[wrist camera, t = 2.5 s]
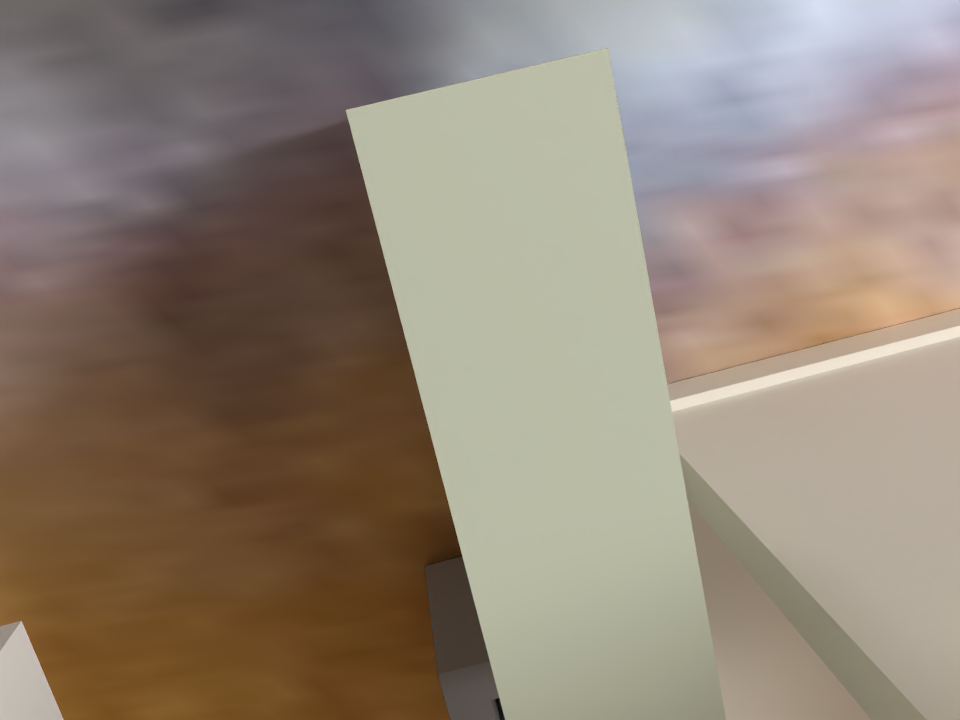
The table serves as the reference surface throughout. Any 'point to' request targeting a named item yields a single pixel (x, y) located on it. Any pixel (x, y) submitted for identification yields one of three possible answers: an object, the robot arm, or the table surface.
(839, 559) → the carcass
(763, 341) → the table surface
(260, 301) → the table surface
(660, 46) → the table surface
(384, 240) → the door
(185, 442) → the table surface
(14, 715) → the robot arm
